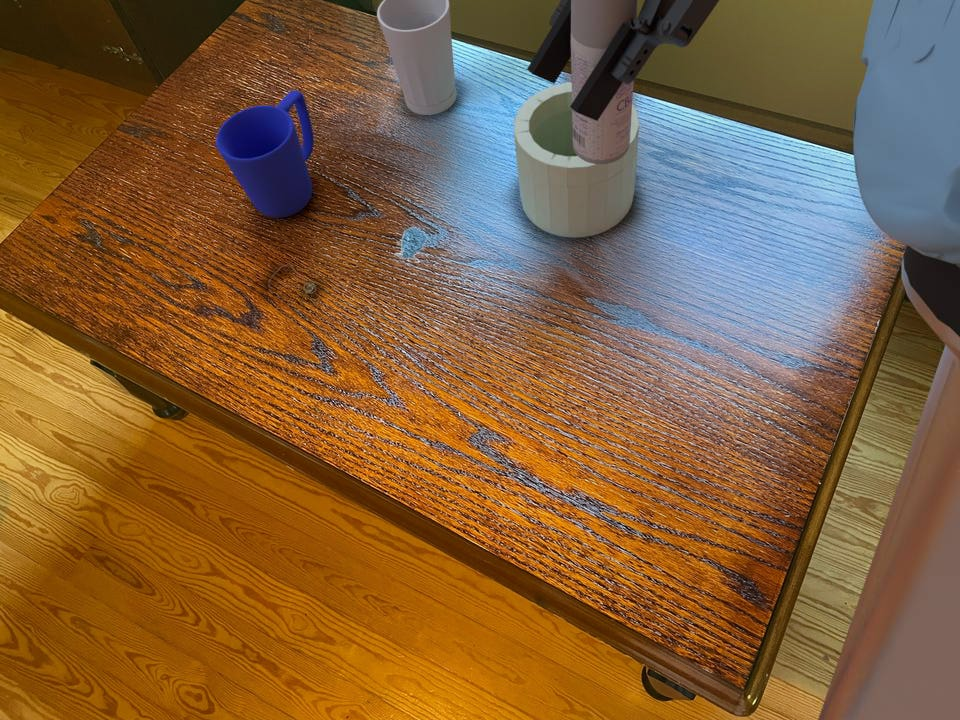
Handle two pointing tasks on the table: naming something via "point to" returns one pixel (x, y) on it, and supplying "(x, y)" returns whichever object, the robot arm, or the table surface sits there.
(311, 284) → the necklace
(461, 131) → the table surface
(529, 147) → the round pot
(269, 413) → the table surface
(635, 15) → the container
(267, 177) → the mug
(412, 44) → the cup
